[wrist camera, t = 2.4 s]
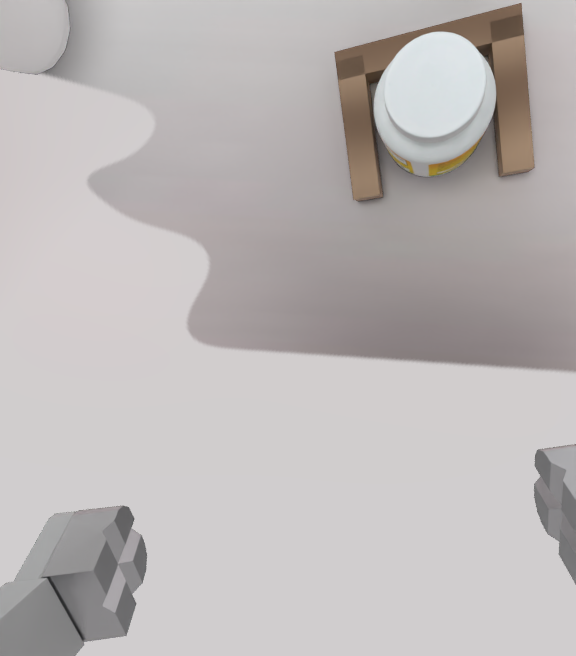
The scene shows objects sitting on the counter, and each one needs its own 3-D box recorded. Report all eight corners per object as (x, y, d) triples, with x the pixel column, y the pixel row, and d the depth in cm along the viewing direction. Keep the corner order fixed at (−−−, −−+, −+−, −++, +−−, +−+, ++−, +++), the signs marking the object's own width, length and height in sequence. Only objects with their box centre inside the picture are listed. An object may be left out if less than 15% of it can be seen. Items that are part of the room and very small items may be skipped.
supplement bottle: (376, 169, 31) (351, 143, 22) (397, 73, 30) (381, 3, 21) (468, 185, 30) (482, 165, 21) (494, 86, 28) (522, 18, 19)
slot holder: (528, 171, 29) (534, 167, 27) (358, 201, 32) (353, 199, 30) (515, 18, 28) (521, 3, 26) (340, 63, 30) (334, 52, 29)
